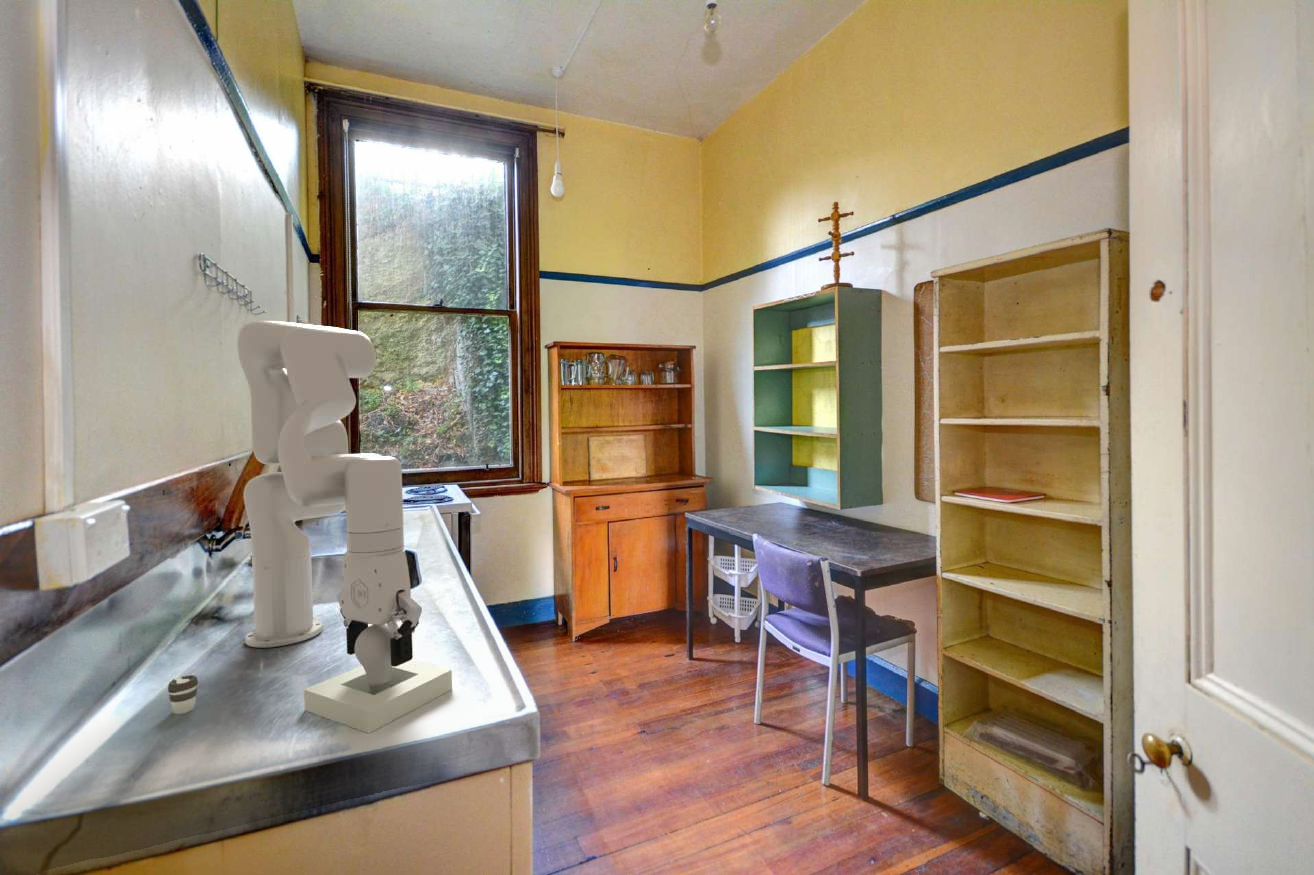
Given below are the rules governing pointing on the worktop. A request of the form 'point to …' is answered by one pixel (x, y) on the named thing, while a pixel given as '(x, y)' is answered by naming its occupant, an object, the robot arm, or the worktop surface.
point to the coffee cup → (183, 694)
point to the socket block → (377, 695)
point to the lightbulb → (375, 656)
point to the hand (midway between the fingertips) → (379, 657)
